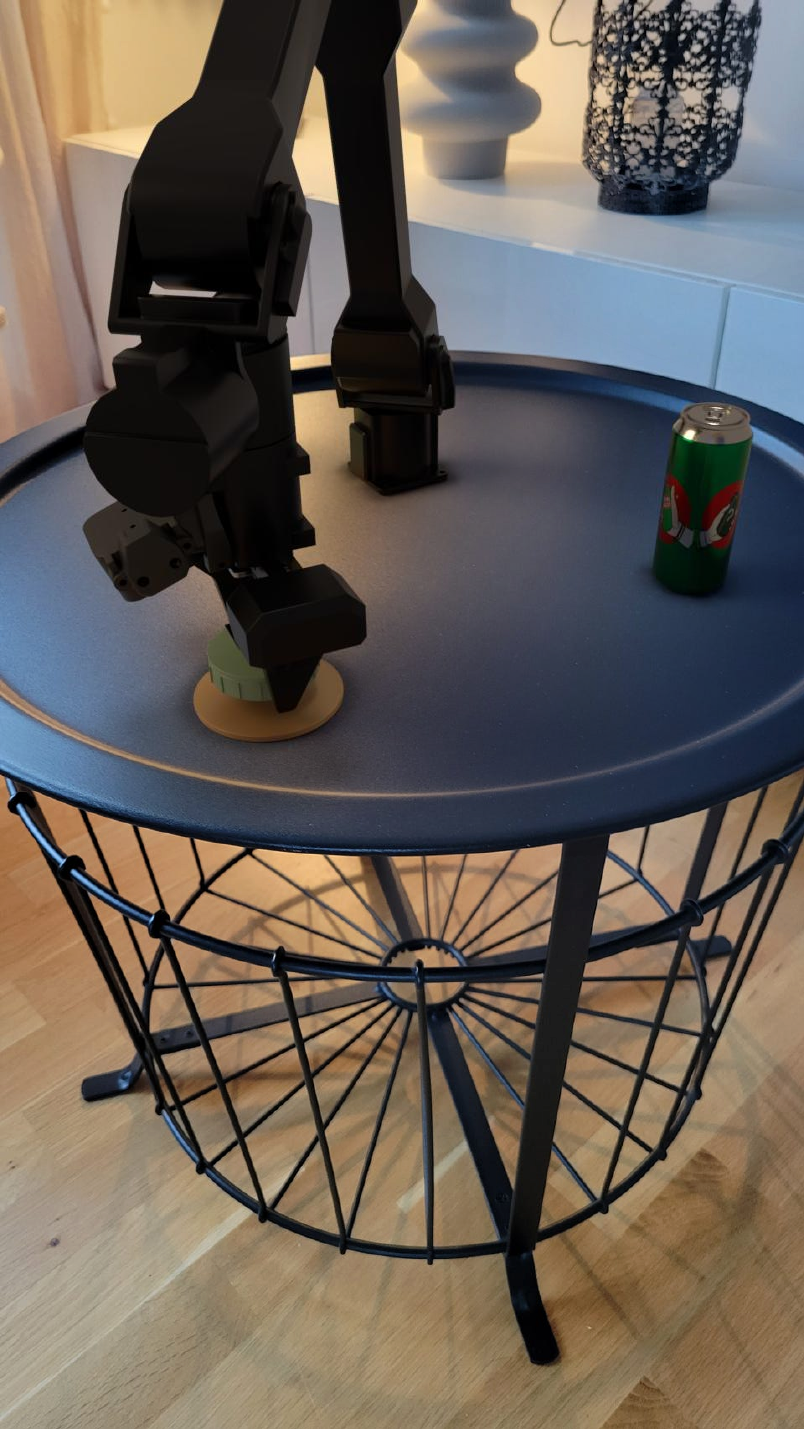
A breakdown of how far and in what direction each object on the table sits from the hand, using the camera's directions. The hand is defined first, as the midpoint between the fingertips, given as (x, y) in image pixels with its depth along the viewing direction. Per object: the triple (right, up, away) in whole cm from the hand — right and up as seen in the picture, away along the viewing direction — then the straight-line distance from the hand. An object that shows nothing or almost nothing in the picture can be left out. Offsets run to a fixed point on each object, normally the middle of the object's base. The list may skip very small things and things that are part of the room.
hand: (267, 679), depth 63 cm
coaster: (0, -1, +1) cm, 1 cm away
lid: (0, +2, -1) cm, 2 cm away
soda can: (+28, +7, +11) cm, 31 cm away
